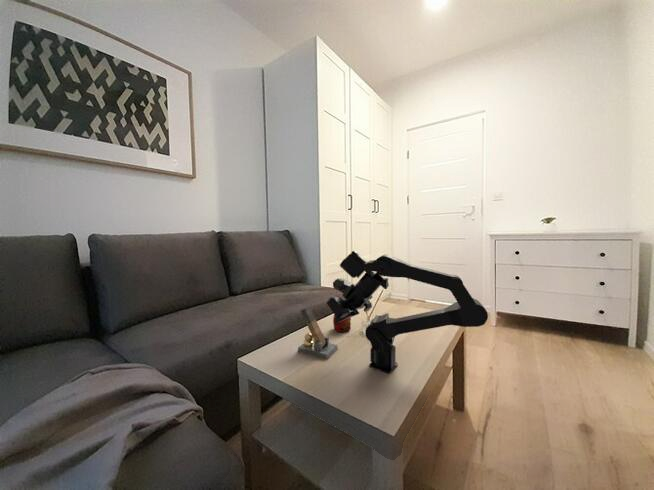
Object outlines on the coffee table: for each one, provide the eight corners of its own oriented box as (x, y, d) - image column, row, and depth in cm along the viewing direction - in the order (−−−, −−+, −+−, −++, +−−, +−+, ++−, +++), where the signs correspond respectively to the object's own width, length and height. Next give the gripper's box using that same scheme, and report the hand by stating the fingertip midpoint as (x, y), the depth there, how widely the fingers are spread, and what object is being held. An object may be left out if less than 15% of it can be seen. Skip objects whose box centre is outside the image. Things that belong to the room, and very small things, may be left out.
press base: (337, 349, 86) (337, 333, 85) (327, 359, 79) (326, 342, 79) (309, 342, 91) (309, 328, 91) (298, 351, 84) (297, 336, 84)
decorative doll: (341, 334, 98) (340, 296, 97) (329, 329, 103) (328, 293, 103) (354, 329, 103) (354, 293, 102) (342, 324, 108) (342, 290, 108)
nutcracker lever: (327, 343, 85) (309, 306, 87) (322, 347, 82) (304, 308, 85) (322, 345, 86) (305, 308, 88) (318, 349, 83) (300, 310, 86)
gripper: (362, 270, 87) (337, 300, 93) (331, 269, 73) (303, 305, 78) (384, 293, 82) (356, 324, 87) (355, 298, 67) (323, 335, 72)
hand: (335, 321), depth 81 cm, fingers closed
